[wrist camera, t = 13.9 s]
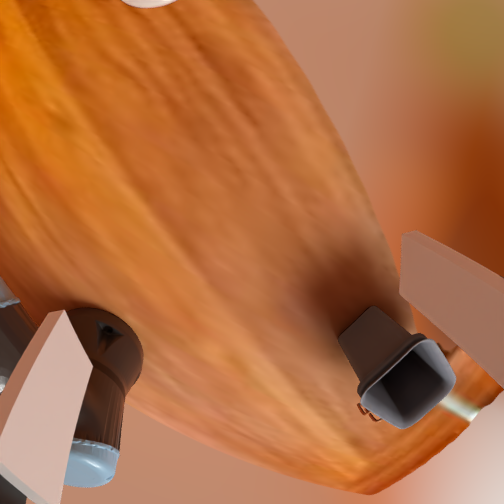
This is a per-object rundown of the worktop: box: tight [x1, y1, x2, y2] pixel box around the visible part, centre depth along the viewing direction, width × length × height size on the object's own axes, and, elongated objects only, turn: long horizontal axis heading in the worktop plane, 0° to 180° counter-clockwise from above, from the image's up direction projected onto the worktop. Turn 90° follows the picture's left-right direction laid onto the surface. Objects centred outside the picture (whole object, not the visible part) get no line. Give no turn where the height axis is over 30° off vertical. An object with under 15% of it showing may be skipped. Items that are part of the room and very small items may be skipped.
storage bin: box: [338, 306, 456, 429], centre depth 46 cm, size 21×16×14 cm
